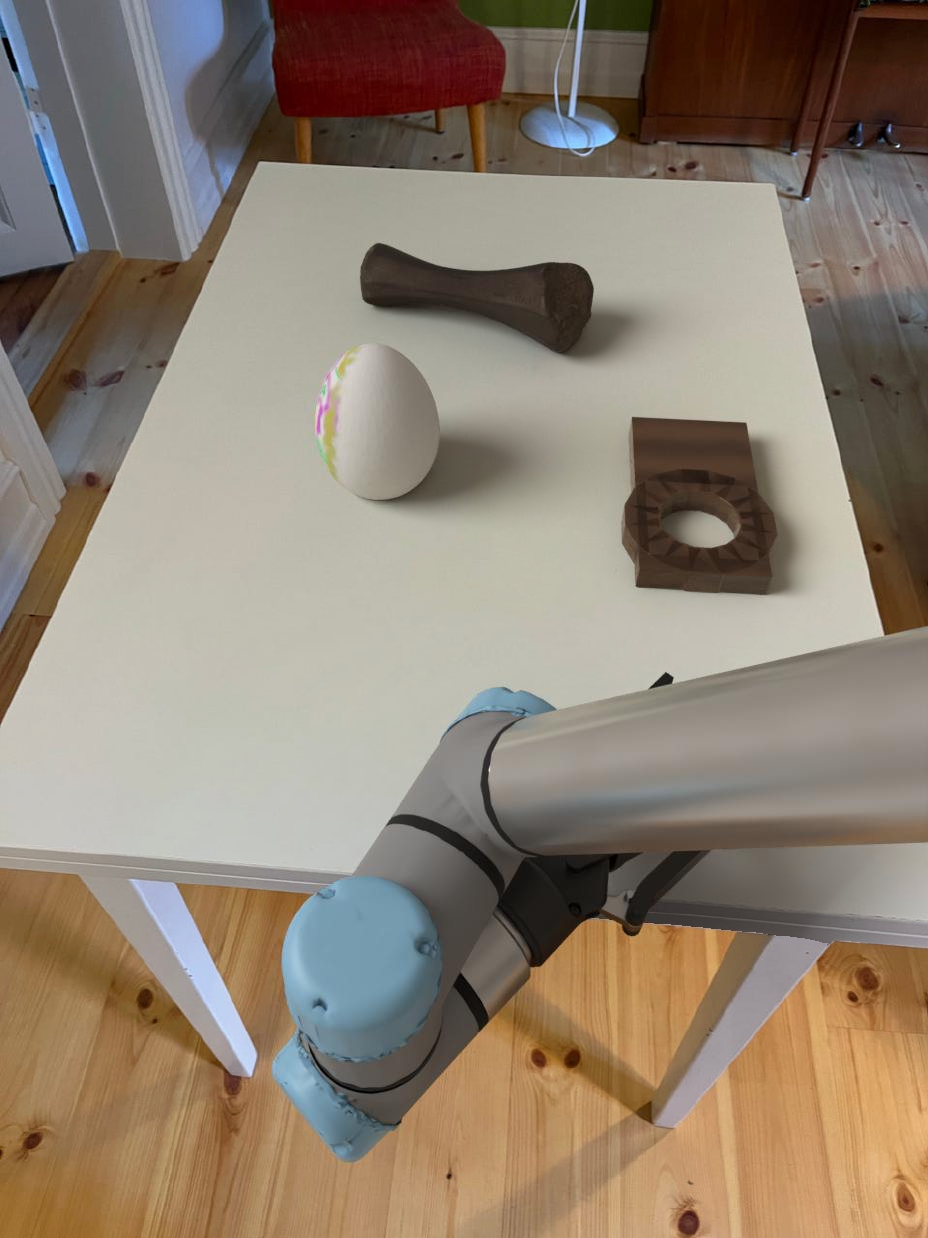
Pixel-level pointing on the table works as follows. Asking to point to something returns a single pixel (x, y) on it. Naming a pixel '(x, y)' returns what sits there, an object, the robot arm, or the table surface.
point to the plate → (696, 506)
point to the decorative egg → (376, 422)
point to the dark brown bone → (487, 292)
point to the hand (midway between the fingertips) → (703, 711)
